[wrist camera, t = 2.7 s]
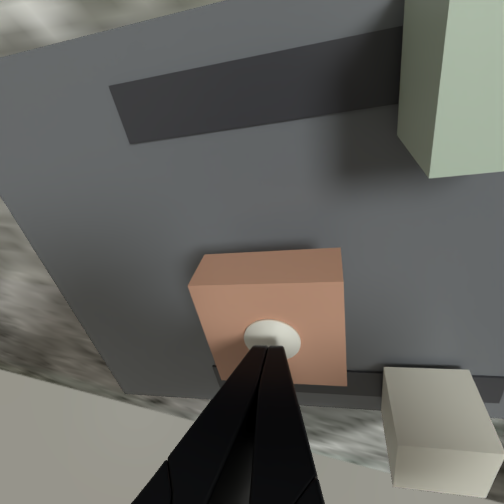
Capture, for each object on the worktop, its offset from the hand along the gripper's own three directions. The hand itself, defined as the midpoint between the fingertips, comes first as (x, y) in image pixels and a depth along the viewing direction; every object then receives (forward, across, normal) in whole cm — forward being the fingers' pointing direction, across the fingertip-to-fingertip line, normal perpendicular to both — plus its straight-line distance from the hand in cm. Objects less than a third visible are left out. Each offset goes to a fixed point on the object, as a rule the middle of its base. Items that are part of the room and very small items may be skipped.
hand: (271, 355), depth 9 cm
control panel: (+6, 0, 0) cm, 6 cm away
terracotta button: (+2, 0, 0) cm, 2 cm away
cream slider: (+3, -5, +6) cm, 8 cm away
